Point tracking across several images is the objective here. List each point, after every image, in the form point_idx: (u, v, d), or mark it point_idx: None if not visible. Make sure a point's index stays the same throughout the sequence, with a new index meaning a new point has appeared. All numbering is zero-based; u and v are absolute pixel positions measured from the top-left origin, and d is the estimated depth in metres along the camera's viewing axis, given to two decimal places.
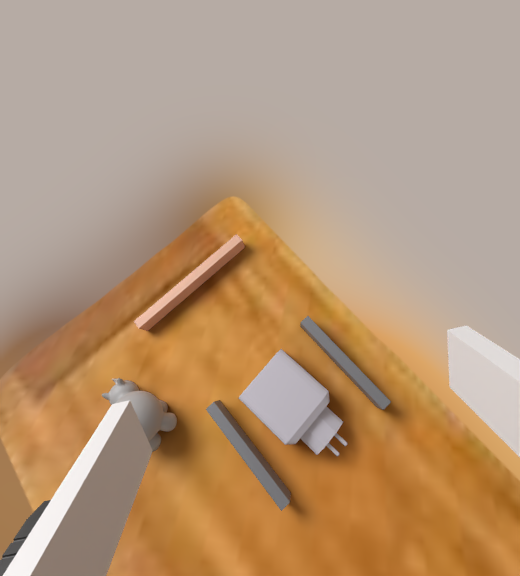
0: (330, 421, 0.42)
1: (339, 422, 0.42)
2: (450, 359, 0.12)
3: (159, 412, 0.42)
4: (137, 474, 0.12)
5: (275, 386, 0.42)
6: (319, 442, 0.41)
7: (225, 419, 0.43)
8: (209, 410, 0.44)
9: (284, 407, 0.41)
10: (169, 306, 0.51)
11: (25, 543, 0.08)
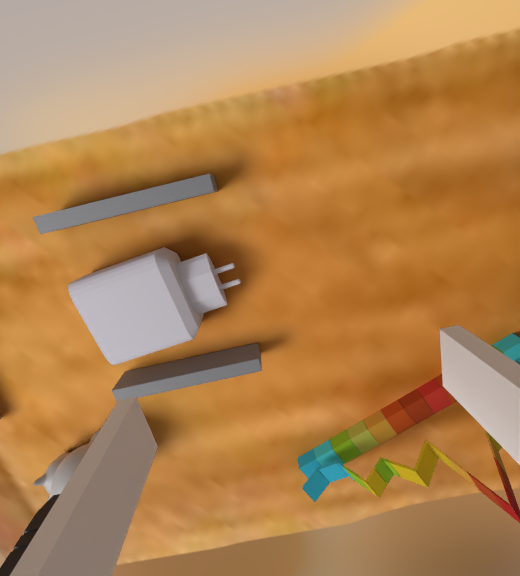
0: (196, 270, 0.29)
1: (203, 259, 0.29)
2: (443, 358, 0.12)
3: None
4: (143, 470, 0.12)
5: (115, 318, 0.29)
6: (213, 297, 0.30)
7: (138, 386, 0.32)
8: (119, 398, 0.33)
9: (147, 321, 0.29)
10: None
11: (36, 534, 0.08)
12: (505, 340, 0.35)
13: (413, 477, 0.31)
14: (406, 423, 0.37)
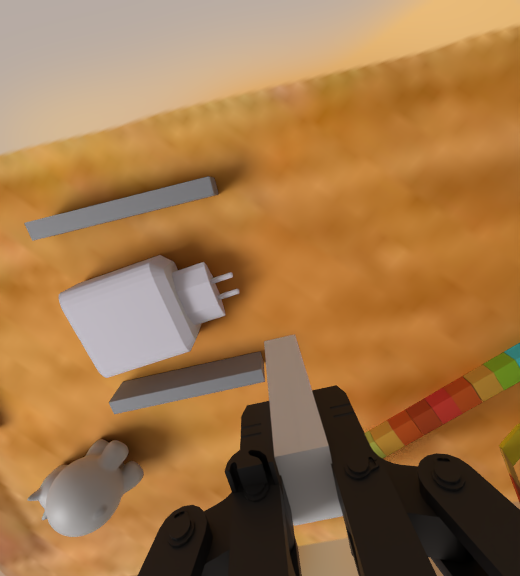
0: (192, 280, 0.28)
1: (200, 268, 0.28)
2: None
3: (88, 472, 0.31)
4: None
5: (108, 330, 0.28)
6: (210, 308, 0.29)
7: (136, 398, 0.31)
8: (117, 410, 0.31)
9: (141, 332, 0.28)
10: None
11: (273, 419, 0.09)
12: (517, 347, 0.34)
13: None
14: (414, 435, 0.36)
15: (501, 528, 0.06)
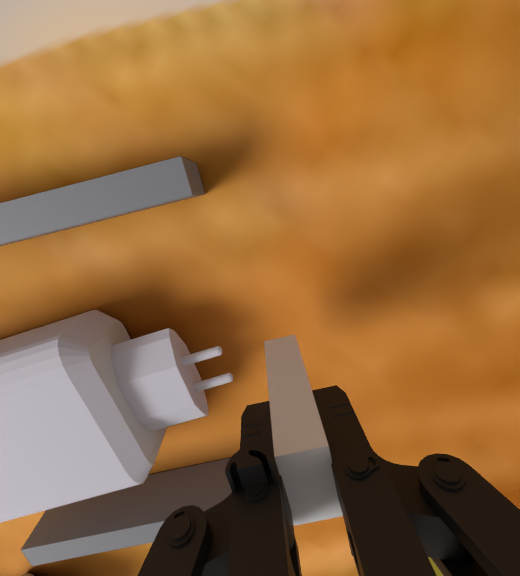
0: (147, 362, 0.15)
1: (163, 340, 0.15)
2: None
3: None
4: None
5: None
6: (181, 409, 0.16)
7: (67, 542, 0.18)
8: (36, 561, 0.19)
9: (50, 460, 0.15)
10: None
11: (273, 419, 0.09)
12: None
13: None
14: None
15: (502, 528, 0.06)
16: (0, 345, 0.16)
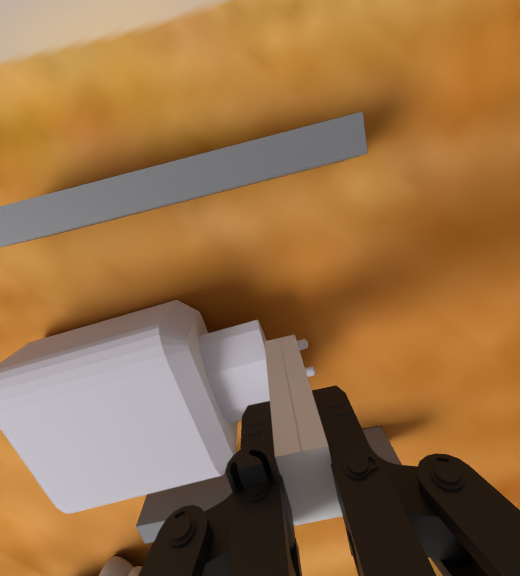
0: (237, 353, 0.15)
1: (253, 332, 0.15)
2: None
3: None
4: None
5: (75, 444, 0.15)
6: None
7: None
8: (150, 538, 0.18)
9: (139, 449, 0.15)
10: None
11: (273, 419, 0.09)
12: None
13: None
14: None
15: (501, 528, 0.06)
16: (86, 333, 0.16)
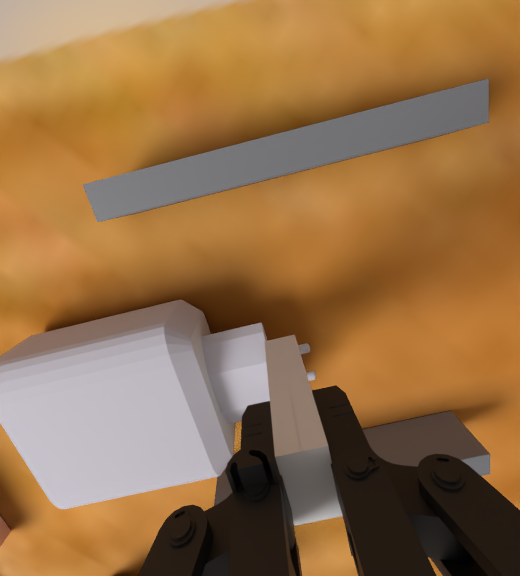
0: (240, 355, 0.15)
1: (256, 334, 0.15)
2: None
3: None
4: None
5: (74, 440, 0.15)
6: None
7: None
8: None
9: (138, 447, 0.15)
10: None
11: (273, 419, 0.09)
12: None
13: None
14: None
15: (502, 528, 0.06)
16: (89, 329, 0.16)
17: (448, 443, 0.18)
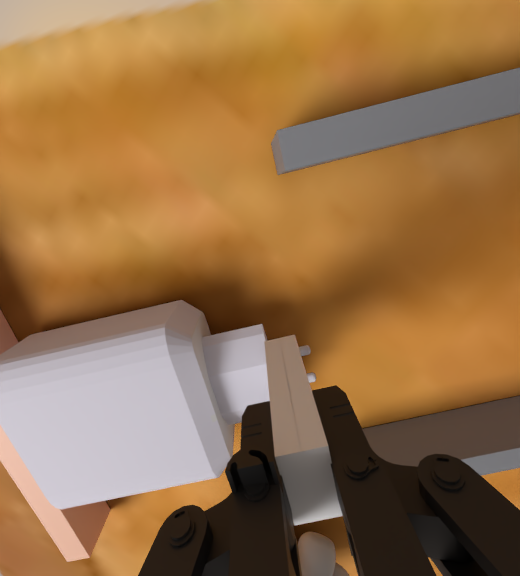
0: (240, 357, 0.15)
1: (257, 336, 0.15)
2: None
3: None
4: None
5: (73, 440, 0.15)
6: None
7: None
8: None
9: (137, 448, 0.15)
10: None
11: (273, 419, 0.09)
12: None
13: None
14: None
15: (501, 528, 0.06)
16: (89, 328, 0.15)
17: None
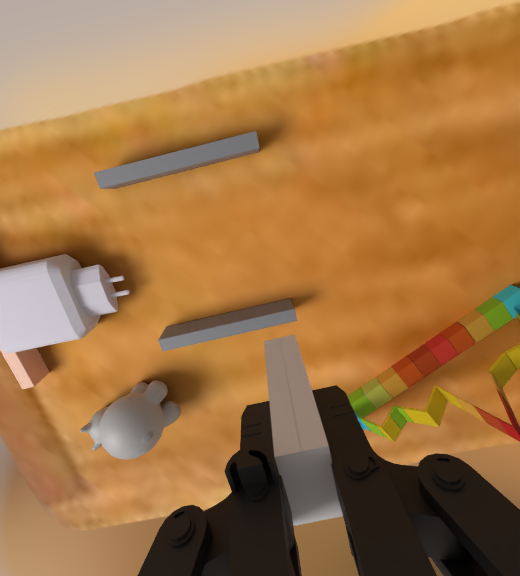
0: (87, 278, 0.33)
1: (95, 269, 0.33)
2: None
3: (136, 403, 0.35)
4: None
5: (8, 313, 0.32)
6: (101, 303, 0.34)
7: (183, 335, 0.35)
8: (165, 348, 0.35)
9: (37, 318, 0.33)
10: None
11: (273, 419, 0.09)
12: (504, 292, 0.38)
13: (424, 419, 0.34)
14: (416, 377, 0.40)
15: (501, 528, 0.06)
16: (18, 265, 0.33)
17: (279, 308, 0.35)
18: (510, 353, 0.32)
